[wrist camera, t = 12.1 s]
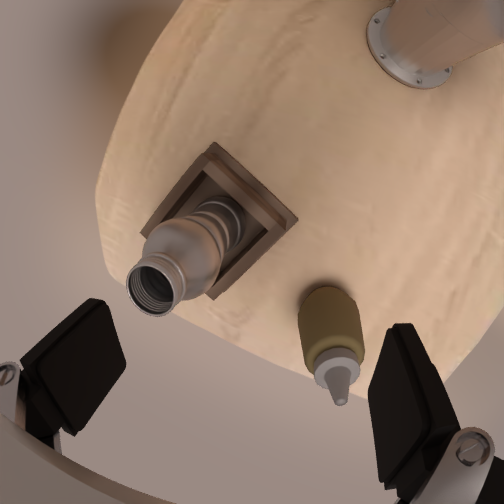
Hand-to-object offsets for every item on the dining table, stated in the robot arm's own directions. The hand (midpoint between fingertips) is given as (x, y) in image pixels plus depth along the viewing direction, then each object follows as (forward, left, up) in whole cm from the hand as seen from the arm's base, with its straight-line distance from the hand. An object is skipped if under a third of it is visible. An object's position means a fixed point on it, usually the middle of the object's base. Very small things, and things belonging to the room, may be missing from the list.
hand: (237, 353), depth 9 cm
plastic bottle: (+2, -7, -27) cm, 28 cm away
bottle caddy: (+2, -8, -28) cm, 29 cm away
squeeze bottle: (+14, +6, -28) cm, 32 cm away
